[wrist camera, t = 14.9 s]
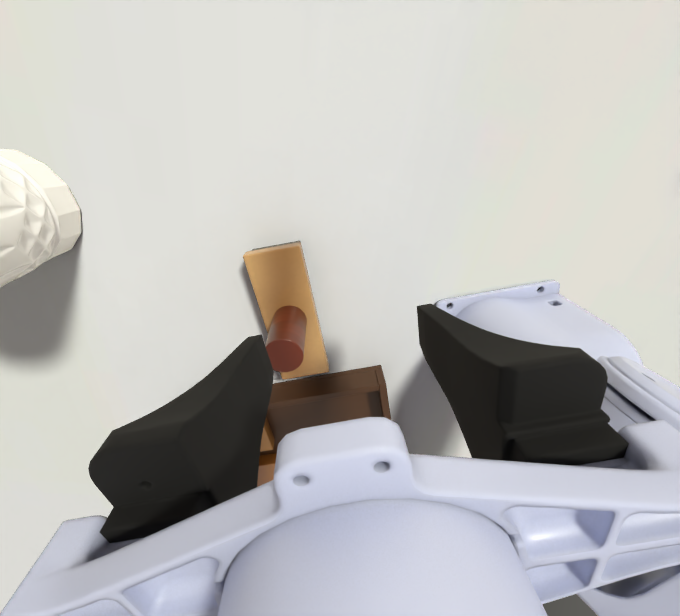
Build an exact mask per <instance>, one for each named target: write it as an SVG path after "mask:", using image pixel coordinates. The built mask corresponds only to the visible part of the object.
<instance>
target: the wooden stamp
mask: <svg viewBox="0 0 680 616" xmlns="http://www.w3.org/2000/svg"><path fill="white" fill-rule="evenodd" d="M243 258H244V262H245V265H246V268H247V271H248V274H249V277H250V280H251V283H252V286H253V290H254V293H255V296H256V299H257V302H258V305H259V308H260V311H261V314H262V317H263V321H264V324H265V327H266V330H267V333H268V337H267V340H266V344H265V347H266V350H267V353H268V356H269V358H270V361H271V364H272V367H273V370H275V371H278V372H280V373H281V377H282V379H283V380H284V379H290V378H296V377H302V376H308V375H314V374H320V373H326V372H329V363H328V359H327V354H326V350H325V346H324V341H323V337H322V333H321V328H320V324H319V320H318V315H317V311H316V307H315V302H314V298H313V294H312V289H311V285H310V281H309V276H308V272H307V268H306V263H305V259H304V254H303V250H302V246H301V242H300V241H296V242H290V243H285V244H279V245H274V246H268V247H263V248H257V249H253V250H252V251H248V252H246V253H245V254H244V255H243Z"/></svg>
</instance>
